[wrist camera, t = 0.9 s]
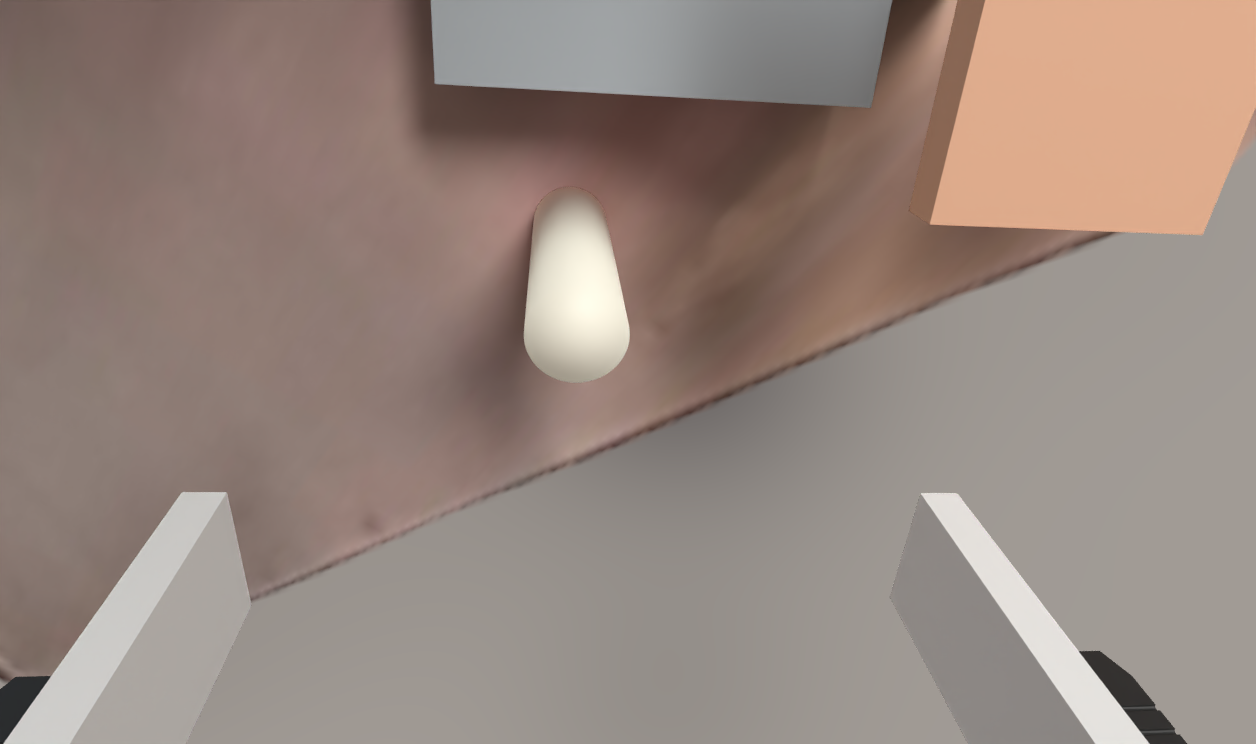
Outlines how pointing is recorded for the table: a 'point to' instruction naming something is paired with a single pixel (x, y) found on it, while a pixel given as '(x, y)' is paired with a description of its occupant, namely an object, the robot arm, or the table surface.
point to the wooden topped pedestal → (1088, 114)
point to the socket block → (666, 47)
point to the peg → (574, 290)
